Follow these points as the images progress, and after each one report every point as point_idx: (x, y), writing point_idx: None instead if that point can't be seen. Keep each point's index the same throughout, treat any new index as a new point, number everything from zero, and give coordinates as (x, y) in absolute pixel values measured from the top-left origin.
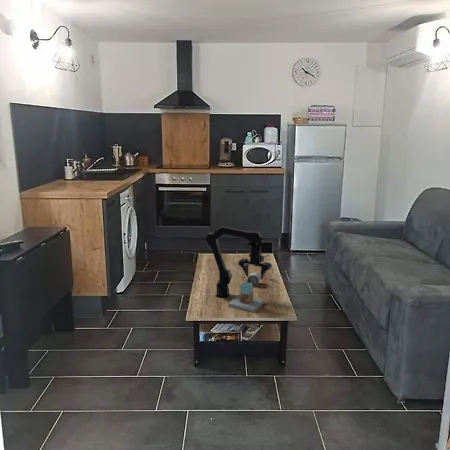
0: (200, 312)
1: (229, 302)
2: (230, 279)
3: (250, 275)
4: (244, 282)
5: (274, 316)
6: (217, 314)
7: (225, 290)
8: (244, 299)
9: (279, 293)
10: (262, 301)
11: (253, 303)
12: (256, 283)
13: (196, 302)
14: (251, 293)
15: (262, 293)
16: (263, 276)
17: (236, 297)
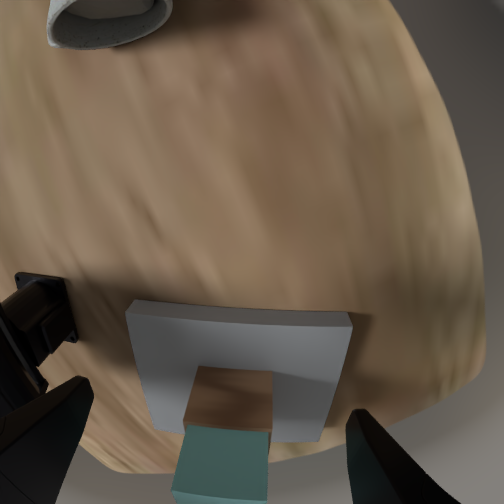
0: (110, 455)
1: (152, 421)
2: (8, 381)
3: (54, 15)
4: (178, 496)
5: (416, 412)
6: (169, 463)
7: (48, 354)
8: None
9: (411, 82)
10: (345, 356)
11: (291, 401)
12: (151, 3)
13: None
14: (269, 443)
15: (273, 132)
16: (393, 445)
17: (141, 362)
